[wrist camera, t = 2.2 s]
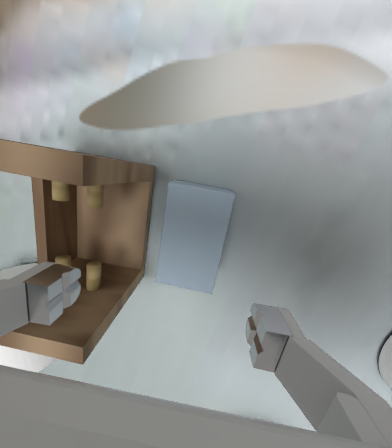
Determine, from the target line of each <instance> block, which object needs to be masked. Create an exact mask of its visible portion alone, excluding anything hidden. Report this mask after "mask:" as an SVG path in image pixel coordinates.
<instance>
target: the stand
mask: <svg viewBox="0 0 392 448" xmlns="http://www.w3.org/2000/svg"><path fill="white" fill-rule="evenodd" d="M0 171H4V172H9V173H14V174H19V175H25V176H30V177H31V179H32V192H33V205H34V218H35V231H36V244H37V257H38V264H40V263H42V262H53V263H57V264H62V265H67V266H71V267H76V268H79V269H80V270H81V277H80V278H79V279H78V282H79V283H80V285H81V290H80V294H79V296H78V298H77V300H76V301H75V302H74V303H73V304H72V305H71V306H69V307H67V308H64V309H63V314H62V315H60V316H59V317H58V318H57V319H56V320H55V321H54V322H53V323H52V324H51V325H50V326H49V325H43V324H38V323H32V322H29V323H28V324H26V325H24V326H21V327H19V328H17V329H15V330H13V331H11V332H9V333H7V334H5V335H3V336H1V337H0V345H1V346H6V347H10V348H14V349H18V350H23V351H27V352H31V353H36V354H40V355H44V356H48V357H53V358H57V359H61V360H65V361H70V362H74V363H78V364H84V362H85V361H86V359H87V358H88V356H89V355H90V354H91V352H92V351H93V349H94V348H95V346H96V345H97V343H98V342H99V340H100V339H101V338H102V336H103V335H104V333H105V332H106V330H107V329H108V327H109V326H110V325H111V323H112V322H113V320H114V319H115V317H116V316H117V314H118V313H119V311H120V310H121V309H122V307H123V306H124V304H125V303H126V301H127V300H128V298H129V297H130V296H131V294H132V293H133V291H134V290H135V288H136V287H137V285H138V284H139V283H140V281H141V280H142V278H143V277H144V267H145V258H146V248H147V239H148V229H149V220H150V210H151V201H152V191H153V182H154V172H155V166H151V165H146V164H140V163H134V162H129V161H123V160H118V159H112V158H107V157H101V156H95V155H90V154H84V153H79V152H73V151H67V150H62V149H56V148H50V147H44V146H38V145H32V144H27V143H21V142H15V141H9V140H3V139H0Z"/></svg>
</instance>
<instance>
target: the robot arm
mask: <svg viewBox="0 0 392 448" xmlns="http://www.w3.org/2000/svg"><path fill="white" fill-rule="evenodd" d="M80 277H81V270H80V269H79V268H76V267H71V266H67V265H62V264H57V263H53V262H42V263H40V264H38V265H36V266H34V267H32V268H30V269H28V270H26V271H25V272H23V273H21V274H19V275H17V276H15V277H13V278H11V279H2V280H0V337H1V336H3V335H5V334H7V333H9V332H11V331H13V330H15V329H17V328H19V327H21V326H24V325H26V324H28V323H29V322H32V323H38V324H43V325H49V326H50V325H51V324H52V323H53V322H54V321H55V320H56V319H57V318H58V317H59V316H60V315H62V314H63V309H64V308H67V307H69V306H71V305H72V304H73V303H74V302H75V301H76V300H77V298H78V296H79V294H80V290H81V285H80V283H79V282H78V279H79V278H80ZM250 311H251V314H252V316H251V317H249V318H248V320H247V323H246V338H247V342H248V343H249V344H250V346H251V348H250V351H249V352H250V356H251V360H252V364H253V368H257V369H262V370H266V371H270V372H274V373H275V375H276V376H277V378H278V379H279V381H280V382H281V383H282V385H283V386H284V387H285V389H286V390H287V392H288V393H289V394H290V396H291V397H292V398H293V400H294V401H295V402H296V404H297V405H298V407H299V408H300V409H301V411H302V412H303V413H304V415H305V416H306V418H307V419H308V420H309V422H310V423H311V424H312V426H313V427H314V429H315V430H316V432H315V431H310V430H306V429H301V428H296V427H291V426H287V425H282V424H277V423H273V422H268V421H263V420H258V419H254V418H249V417H244V416H240V415H235V414H230V413H225V412H221V411H216V410H211V409H206V408H202V407H197V406H192V405H187V404H183V403H178V402H173V401H168V400H164V399H159V398H154V397H149V396H145V395H140V394H135V393H130V392H126V391H121V390H116V389H112V388H107V387H102V386H98V385H93V384H88V383H83V382H79V381H74V380H69V379H65V378H60V377H55V376H50V375H46V374H41V373H36V372H32V371H27V370H22V369H17V368H13V367H8V366H3V365H0V448H392V408H391V407H390V406H389V404H388V403H387V402H386V401H385V400H384V399H383V398H381V397H380V396H379V395H378V394H376V393H375V392H374V391H373V390H372V389H370V388H369V387H368V386H367V385H365V384H364V383H363V382H362V381H360V380H359V379H358V378H357V377H355V376H354V375H353V374H352V373H350V372H349V371H348V370H347V369H346V368H344V367H343V366H342V365H341V364H339V363H338V362H337V361H336V360H334V359H333V358H332V357H331V356H329V355H328V354H327V353H326V352H324V351H323V350H322V349H321V348H320V347H318V346H317V345H316V344H315V343H313V342H312V341H311V340H307V339H306V337H305V336H304V334H303V332H302V331H301V329H300V327H299V326H298V324H297V322H296V321H295V319H294V318H293V316H292V314H291V313H290V311H289V310H288V309H285V308H279V307H272V306H266V305H261V304H255V303H253V305H252V307H251V310H250ZM379 371H380V374H381V376H382V378H383V380H384V381H385V383H386V384H387V385H388V386H389V387H390V388H391V389H392V335H391V336H390V338H389V339H388V340H387V341H386V343H385V344H384V346H383V348H382V350H381V353H380V357H379Z"/></svg>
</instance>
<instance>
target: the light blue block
mask: <svg viewBox="0 0 392 448" xmlns="http://www.w3.org/2000/svg"><path fill="white" fill-rule="evenodd" d="M234 199H235V193H233V192H232V191H231V190H229V189H224V188H218V187H213V186H208V185H202V184H197V183H191V182H186V181H181V180H177V181H170V182H169V183H168V190H167V198H166V206H165V213H164V221H163V229H162V236H161V244H160V252H159V259H158V267H157V274H156V282H158V283H163V284H167V285H172V286H177V287H182V288H186V289H191V290H196V291H201V292H205V293H210V294H212V292H213V288H214V284H215V279H216V275H217V271H218V267H219V262H220V258H221V254H222V250H223V245H224V241H225V237H226V233H227V228H228V224H229V220H230V216H231V211H232V207H233V203H234Z"/></svg>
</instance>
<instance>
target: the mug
mask: <svg viewBox="0 0 392 448" xmlns="http://www.w3.org/2000/svg"><path fill="white" fill-rule="evenodd" d="M36 265H38V263H32V264H25V265H20V266H15V267H11V268H7V269H4V270H0V280H2V279H11V278H13V277H15V276H17V275H19V274H21V273H23V272H25V271H26V270H28V269H30V268H32V267H34V266H36ZM55 359H56V358H53V357H48V356H44V355H40V354H36V353H31V352H27V351H23V350H18V349H14V348H10V347H6V346H1V345H0V365H3V366H8V367H13V368H17V369H22V370H27V371H32V372H36V373H37V372H38V371H40V370H42V369H43V368H45V367H46V366H47V365H49V364H50V363H51V362H53V361H54V360H55Z"/></svg>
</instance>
